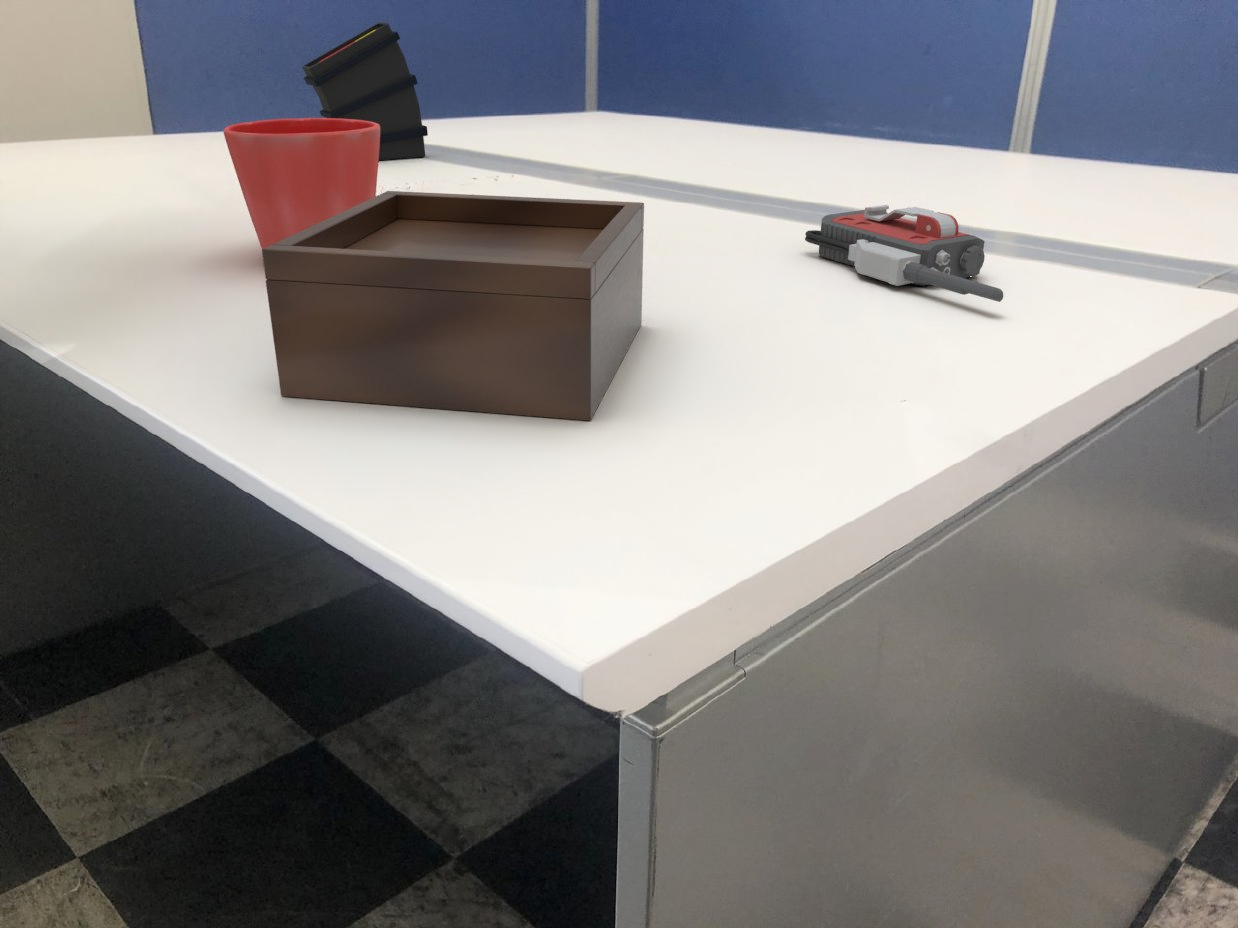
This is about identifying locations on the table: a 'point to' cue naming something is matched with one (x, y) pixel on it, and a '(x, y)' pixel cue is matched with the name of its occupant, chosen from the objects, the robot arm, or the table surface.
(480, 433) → the table surface
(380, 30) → the magazine
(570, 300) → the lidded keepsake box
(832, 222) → the walkie-talkie
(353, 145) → the flower pot
